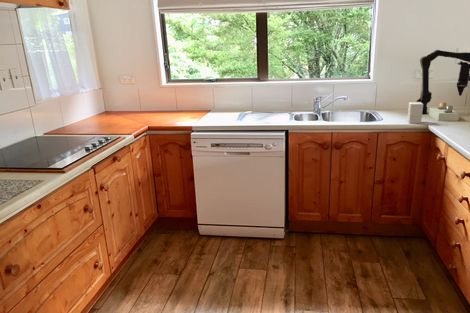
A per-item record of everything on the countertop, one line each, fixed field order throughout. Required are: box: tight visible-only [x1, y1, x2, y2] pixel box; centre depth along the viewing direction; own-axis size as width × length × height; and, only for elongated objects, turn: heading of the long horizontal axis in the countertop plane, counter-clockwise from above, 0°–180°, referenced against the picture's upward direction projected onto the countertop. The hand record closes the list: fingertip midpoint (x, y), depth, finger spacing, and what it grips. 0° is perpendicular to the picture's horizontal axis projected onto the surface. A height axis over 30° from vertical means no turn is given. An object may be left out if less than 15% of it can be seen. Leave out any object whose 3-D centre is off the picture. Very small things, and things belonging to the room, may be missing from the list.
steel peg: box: [445, 105, 454, 113], centre depth 239 cm, size 4×4×5 cm
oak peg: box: [438, 102, 447, 110], centre depth 250 cm, size 4×4×5 cm
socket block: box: [428, 107, 460, 122], centre depth 246 cm, size 12×20×5 cm, turn 169°
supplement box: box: [406, 101, 423, 124], centre depth 235 cm, size 7×7×13 cm
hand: (460, 94), depth 252 cm, fingers open, 9 cm apart
